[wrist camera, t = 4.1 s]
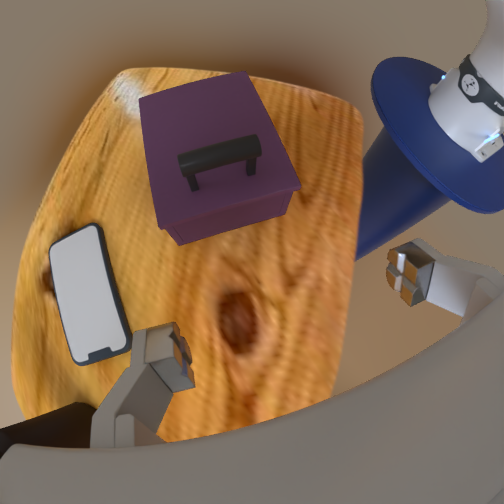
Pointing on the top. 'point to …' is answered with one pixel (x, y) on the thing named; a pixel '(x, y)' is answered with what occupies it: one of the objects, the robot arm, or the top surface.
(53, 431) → the bottle
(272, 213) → the purple box
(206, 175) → the lid
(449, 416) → the robot arm
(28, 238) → the top surface
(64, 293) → the smartphone
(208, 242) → the top surface
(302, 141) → the top surface
